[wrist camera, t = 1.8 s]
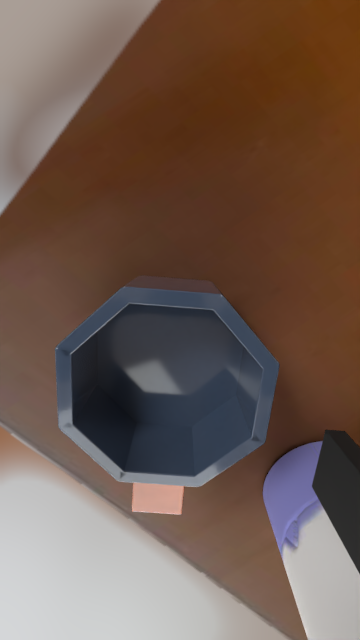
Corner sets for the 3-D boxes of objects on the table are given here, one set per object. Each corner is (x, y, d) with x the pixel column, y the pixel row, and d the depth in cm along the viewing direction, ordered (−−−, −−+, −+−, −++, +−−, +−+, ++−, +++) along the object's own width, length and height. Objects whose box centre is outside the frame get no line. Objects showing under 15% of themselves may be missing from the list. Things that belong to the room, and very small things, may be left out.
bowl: (88, 271, 18) (51, 280, 13) (261, 284, 18) (292, 299, 13) (90, 446, 21) (61, 508, 16) (234, 456, 21) (250, 521, 16)
